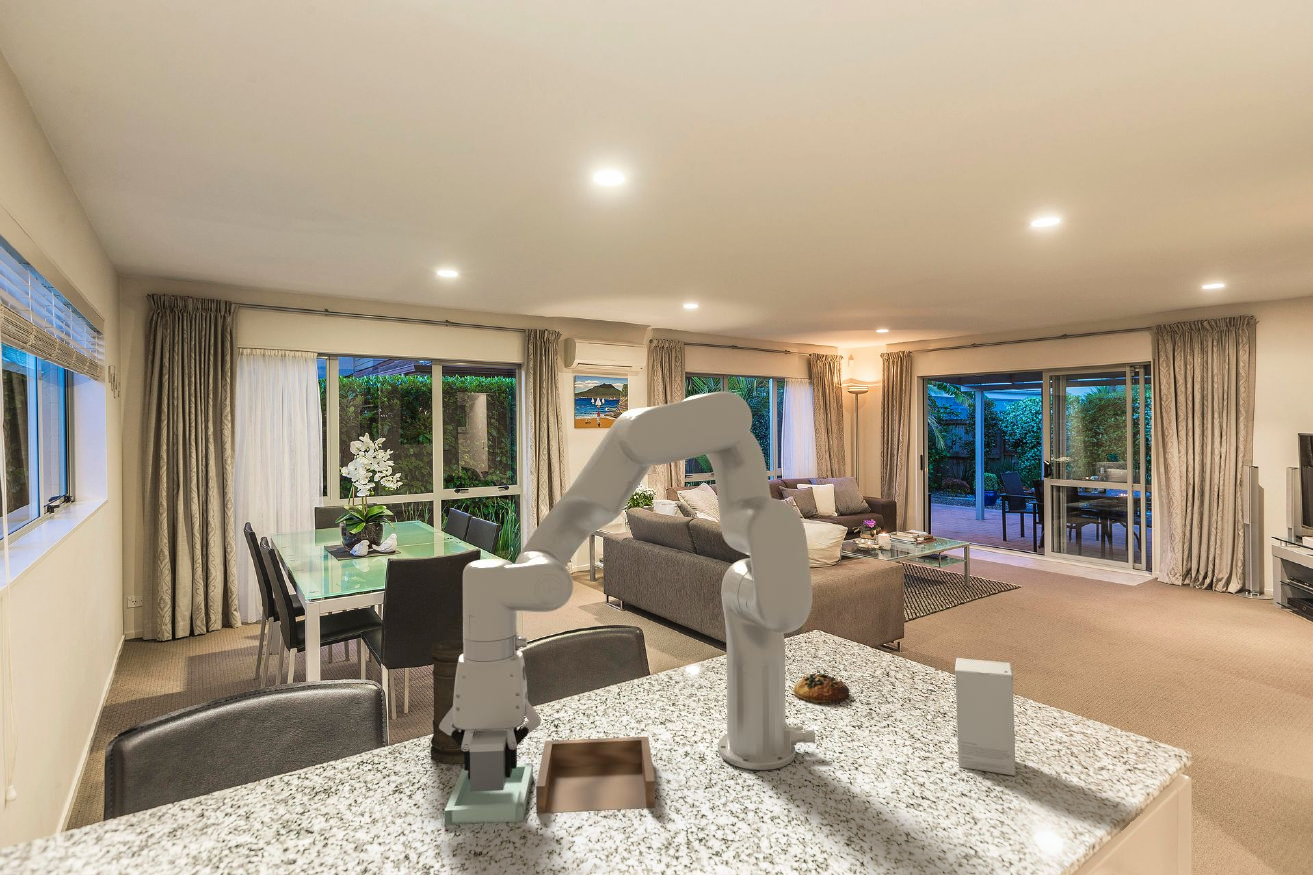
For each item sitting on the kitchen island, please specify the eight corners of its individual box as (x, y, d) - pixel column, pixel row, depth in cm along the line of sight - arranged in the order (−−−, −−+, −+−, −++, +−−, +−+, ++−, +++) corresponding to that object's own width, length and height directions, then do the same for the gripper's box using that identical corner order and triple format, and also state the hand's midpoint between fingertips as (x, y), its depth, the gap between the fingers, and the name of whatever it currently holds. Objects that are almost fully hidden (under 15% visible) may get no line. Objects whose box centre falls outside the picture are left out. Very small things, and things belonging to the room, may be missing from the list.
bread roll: (856, 704, 132) (852, 678, 132) (799, 712, 132) (795, 686, 133) (842, 686, 143) (838, 662, 143) (789, 693, 144) (786, 669, 144)
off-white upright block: (510, 765, 102) (510, 722, 102) (503, 790, 95) (503, 743, 95) (479, 767, 102) (478, 723, 102) (469, 791, 95) (469, 744, 95)
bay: (648, 761, 110) (648, 736, 110) (654, 809, 96) (654, 780, 96) (545, 765, 109) (545, 740, 109) (536, 815, 95) (536, 786, 95)
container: (471, 767, 109) (470, 653, 109) (419, 762, 111) (418, 650, 110) (495, 742, 118) (494, 637, 117) (447, 737, 119) (446, 634, 119)
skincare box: (1014, 759, 110) (1013, 662, 109) (1016, 778, 104) (1015, 675, 103) (956, 750, 113) (955, 655, 113) (955, 767, 107) (954, 668, 107)
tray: (532, 777, 105) (532, 762, 105) (523, 822, 93) (522, 806, 93) (463, 780, 104) (463, 765, 104) (444, 826, 92) (444, 810, 92)
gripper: (551, 637, 103) (552, 759, 103) (436, 640, 102) (437, 763, 102) (547, 653, 95) (548, 784, 96) (423, 657, 94) (423, 789, 94)
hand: (490, 772), depth 99 cm, fingers closed on off-white upright block, 4 cm apart
